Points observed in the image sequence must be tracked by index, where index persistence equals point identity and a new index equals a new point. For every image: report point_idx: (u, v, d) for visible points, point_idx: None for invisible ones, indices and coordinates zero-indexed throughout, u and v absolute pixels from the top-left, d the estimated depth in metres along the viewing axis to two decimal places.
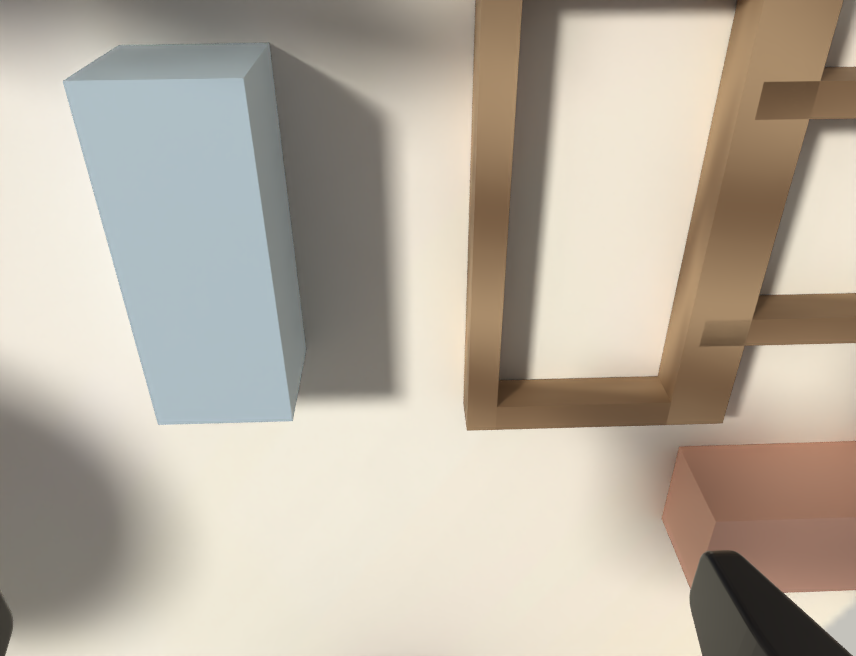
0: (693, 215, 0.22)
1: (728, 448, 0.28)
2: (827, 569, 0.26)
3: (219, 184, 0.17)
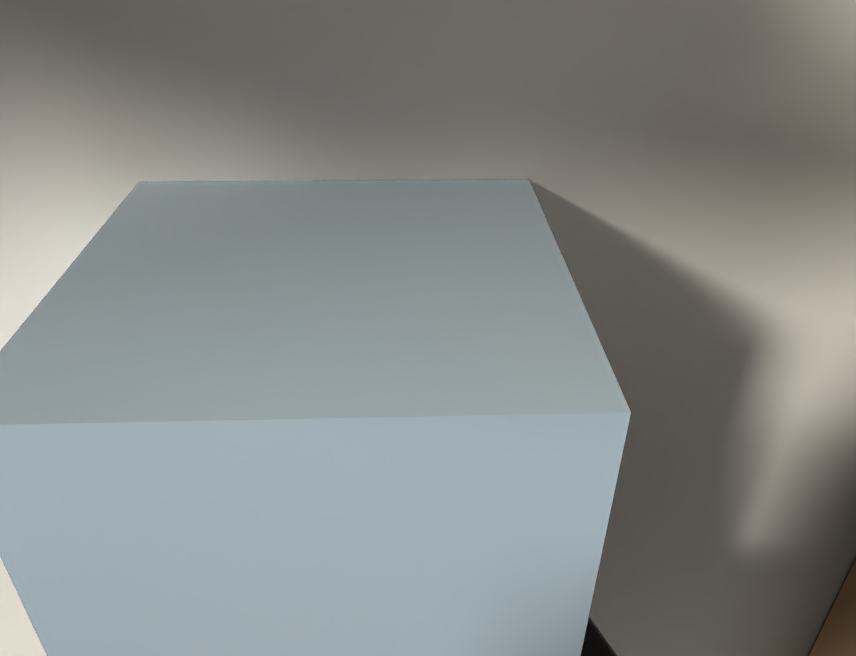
0: None
1: None
2: None
3: None
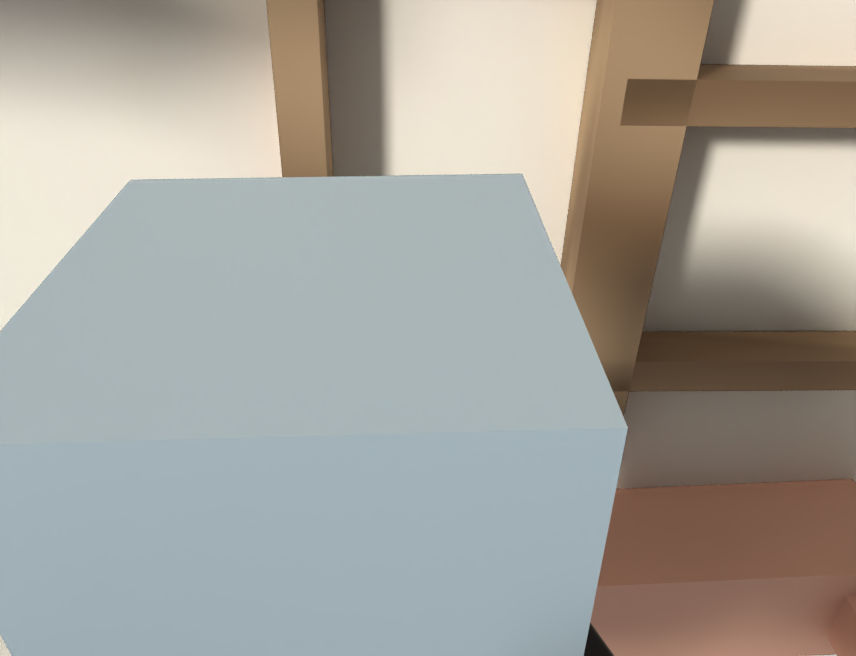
0: (565, 237, 0.19)
1: (615, 493, 0.24)
2: (725, 636, 0.22)
3: None
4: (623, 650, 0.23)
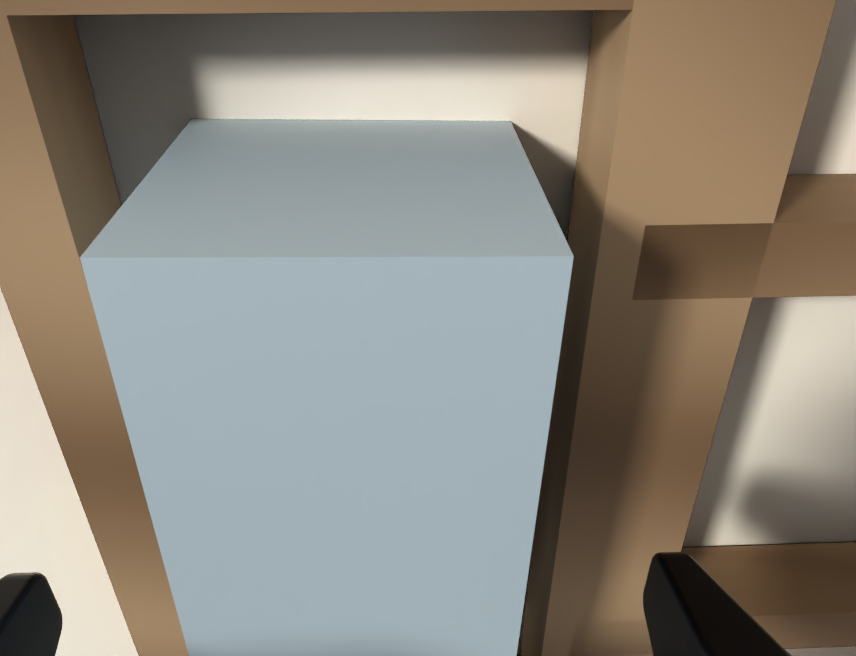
0: None
1: None
2: None
3: (448, 478, 0.07)
4: None
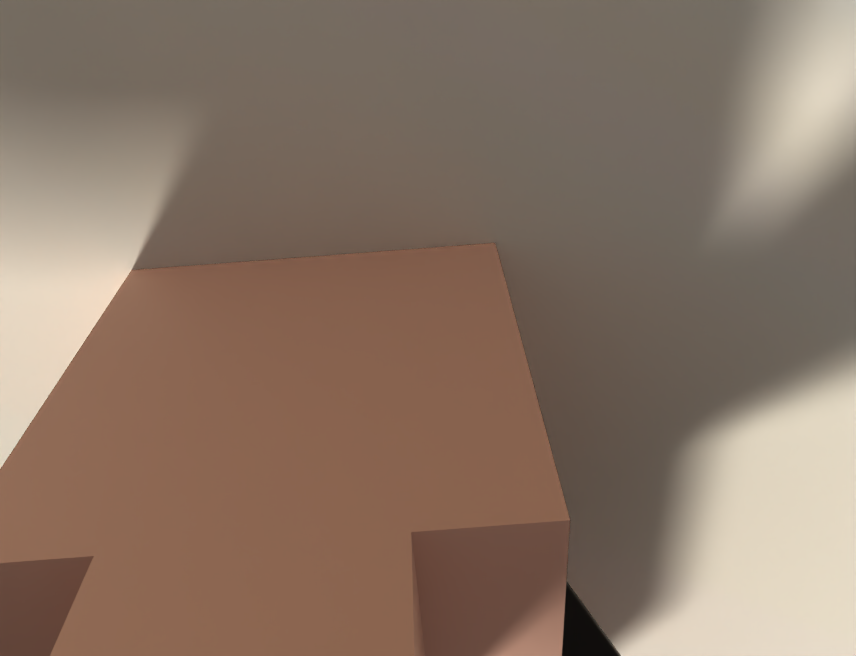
0: None
1: None
2: None
3: None
4: None
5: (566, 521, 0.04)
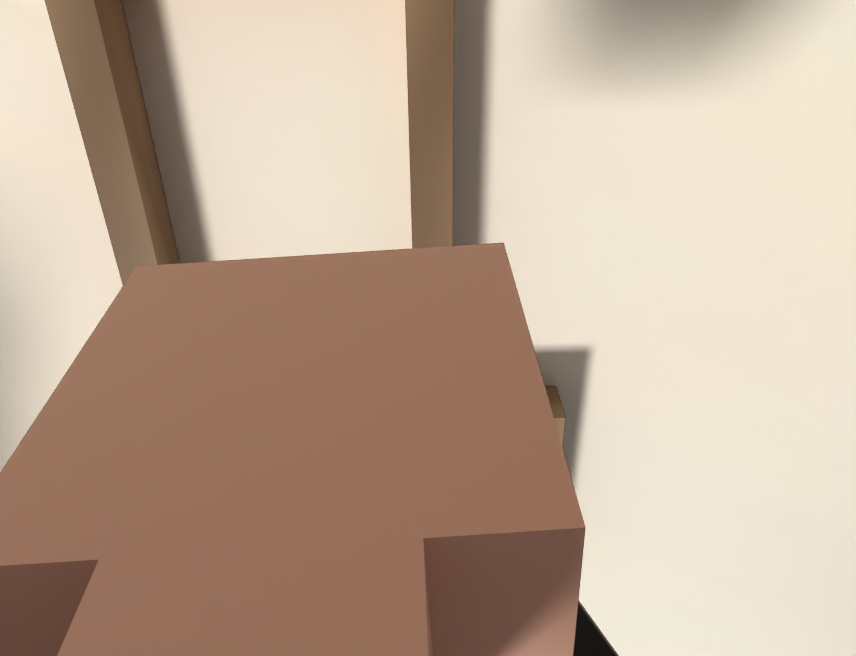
0: None
1: None
2: None
3: None
4: None
5: (580, 530, 0.04)
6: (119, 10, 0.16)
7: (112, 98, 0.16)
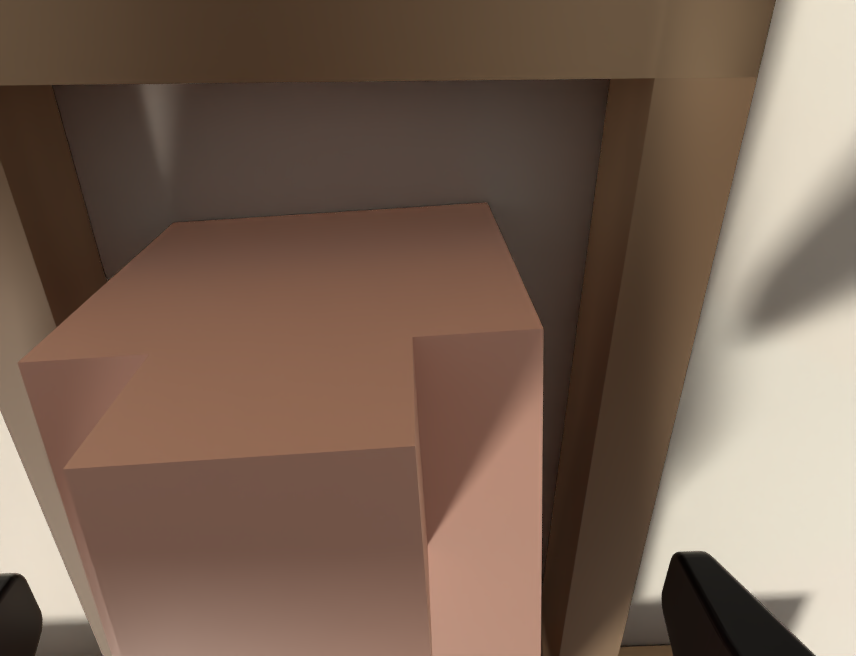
0: None
1: None
2: None
3: None
4: None
5: (539, 330, 0.05)
6: (47, 107, 0.08)
7: (33, 287, 0.08)
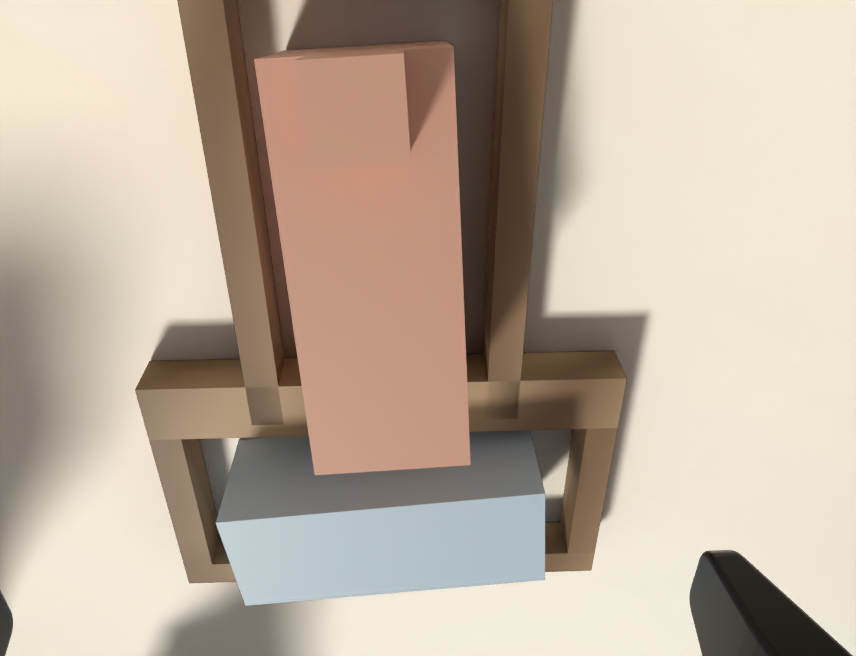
0: None
1: None
2: (409, 296, 0.16)
3: (302, 536, 0.22)
4: (436, 414, 0.18)
5: (452, 47, 0.14)
6: None
7: (227, 67, 0.17)
